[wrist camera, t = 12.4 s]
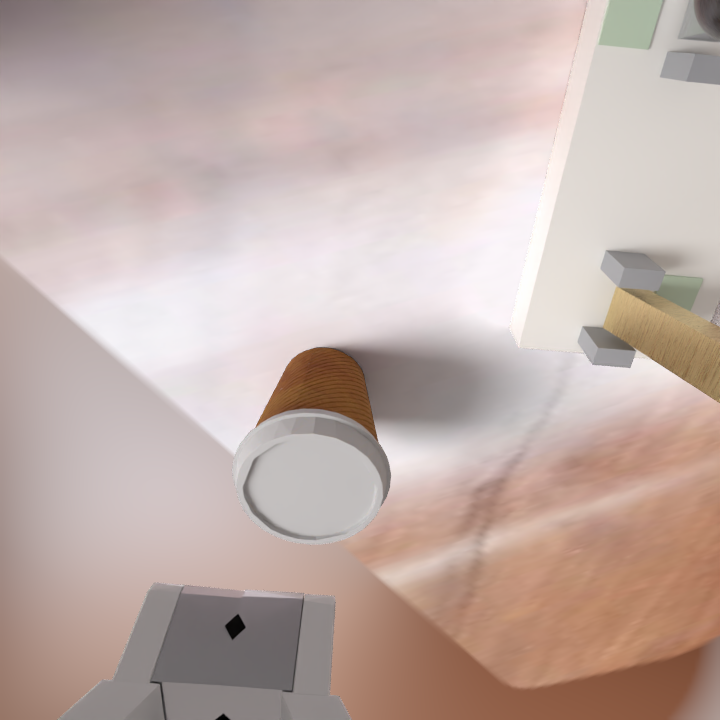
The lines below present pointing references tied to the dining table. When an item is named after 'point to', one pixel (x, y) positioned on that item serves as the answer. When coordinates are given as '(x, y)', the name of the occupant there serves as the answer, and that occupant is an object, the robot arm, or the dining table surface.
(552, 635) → the dining table surface
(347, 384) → the disposable coffee cup
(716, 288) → the switch panel
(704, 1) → the steel lever
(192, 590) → the robot arm
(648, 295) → the brass lever
